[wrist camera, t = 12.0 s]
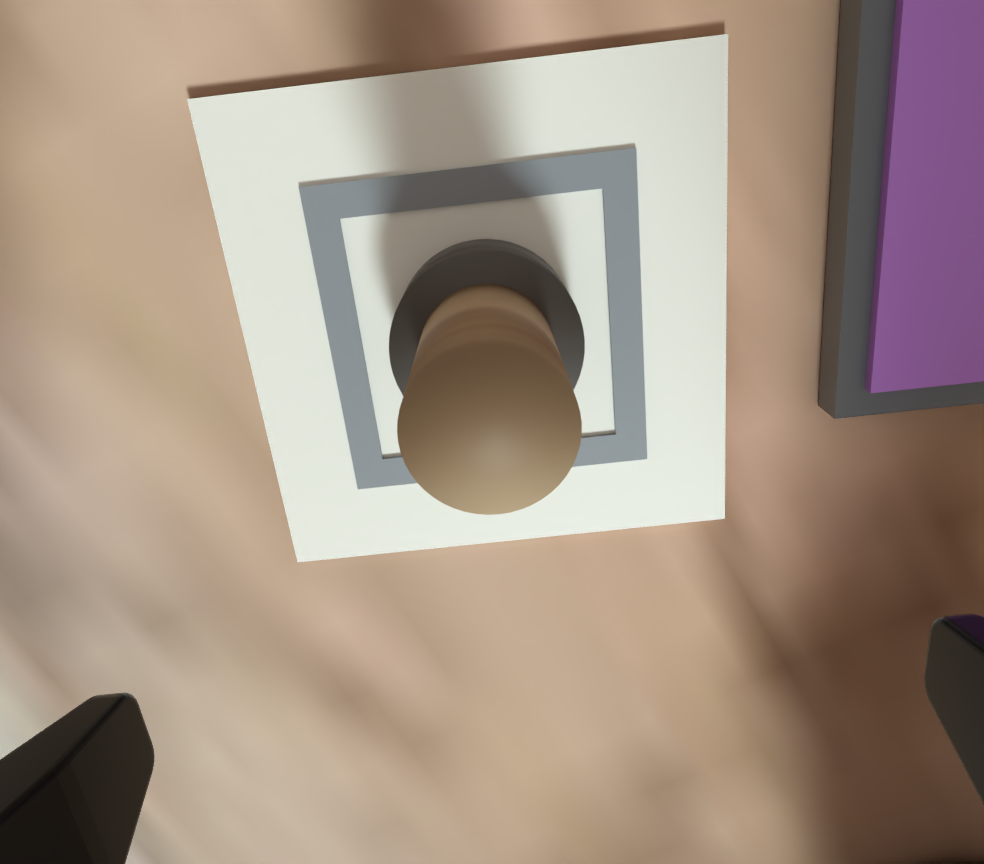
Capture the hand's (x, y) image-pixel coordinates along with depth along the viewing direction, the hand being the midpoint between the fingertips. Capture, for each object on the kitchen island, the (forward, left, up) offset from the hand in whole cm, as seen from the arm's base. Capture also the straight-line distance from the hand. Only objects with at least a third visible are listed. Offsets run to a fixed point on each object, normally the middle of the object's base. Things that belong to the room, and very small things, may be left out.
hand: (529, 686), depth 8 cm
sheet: (+1, 0, -12) cm, 12 cm away
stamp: (+1, 0, -12) cm, 12 cm away
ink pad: (+3, -12, -12) cm, 17 cm away
